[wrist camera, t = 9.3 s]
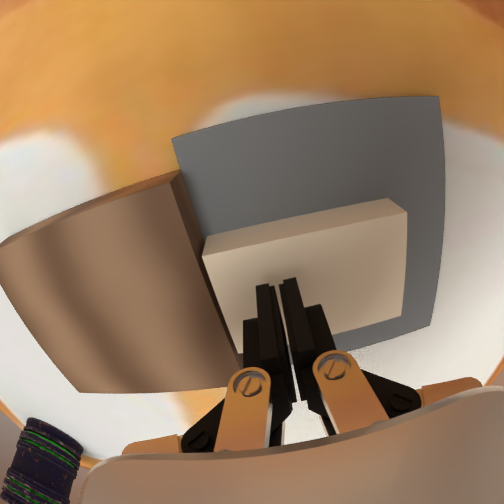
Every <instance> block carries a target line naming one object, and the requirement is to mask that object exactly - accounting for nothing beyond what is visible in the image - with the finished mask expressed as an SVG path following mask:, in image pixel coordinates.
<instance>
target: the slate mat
mask: <svg viewBox="0 0 504 504" xmlns="http://www.w3.org/2000/svg"><path fill="white" fill-rule="evenodd" d="M172 143H173V146H174V150H175V153H176V156H177V160H178V163H179V166H180V169H181V173H182V176H183V179H184V182H185V186H186V189H187V192H188V195H189V198H190V201H191V204H192V207H193V211H194V214H195V217H196V220H197V223H198V226H199V229H200V232H201V235H202V238H203V241H204V244H205V242H206V238H207V236H210V235H214V234H218V233H223V232H227V231H231V230H236V229H240V228H245V227H249V226H254V225H258V224H263V223H267V222H272V221H276V220H281V219H286V218H290V217H295V216H300V215H304V214H309V213H314V212H319V211H324V210H329V209H333V208H338V207H343V206H348V205H353V204H358V203H364V202H369V201H374V200H379V199H384V198H389V199H390V200H391V201H393V202H394V203H396V204H397V205H398V206H400V207H401V208H402V209H404V210H405V211H406V212H407V251H406V269H405V282H404V293H403V303H402V312H401V316H398V317H395V318H392V319H389V320H385V321H382V322H378V323H375V324H371V325H368V326H364V327H360V328H357V329H353V330H349V331H345V332H341V333H337V334H333V335H332V337H333V340H334V343H335V346H336V349H337V350H341V351H345V352H347V351H351V350H355V349H358V348H362V347H365V346H369V345H372V344H376V343H379V342H382V341H385V340H389V339H392V338H395V337H398V336H401V335H404V334H407V333H410V332H413V331H416V330H419V329H421V328H424V327H427V326H430V322H431V318H432V313H433V308H434V302H435V297H436V291H437V284H438V278H439V271H440V263H441V254H442V244H443V231H444V214H445V157H444V140H443V129H442V119H441V110H440V103H439V96H409V97H386V98H371V99H360V100H350V101H341V102H332V103H325V104H318V105H311V106H305V107H299V108H293V109H287V110H282V111H277V112H271V113H267V114H262V115H257V116H253V117H248V118H244V119H240V120H235V121H231V122H227V123H224V124H220V125H216V126H212V127H209V128H205V129H201V130H198V131H195V132H191V133H188V134H185V135H181V136H178V137H175V138H172ZM288 350H289V356H290V362H291V365H292V364H293V361H292V356H291V351H290V346H289V345H288Z"/></svg>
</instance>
